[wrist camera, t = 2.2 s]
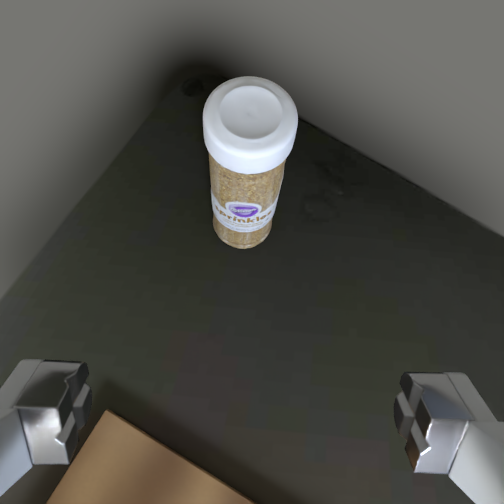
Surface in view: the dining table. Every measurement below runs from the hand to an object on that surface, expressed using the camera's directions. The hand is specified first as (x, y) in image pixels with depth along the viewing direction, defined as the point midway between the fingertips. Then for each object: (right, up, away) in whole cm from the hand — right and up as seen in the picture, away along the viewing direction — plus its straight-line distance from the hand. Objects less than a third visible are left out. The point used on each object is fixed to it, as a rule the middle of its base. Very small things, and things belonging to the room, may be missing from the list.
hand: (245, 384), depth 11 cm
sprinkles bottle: (0, +6, +22) cm, 22 cm away
